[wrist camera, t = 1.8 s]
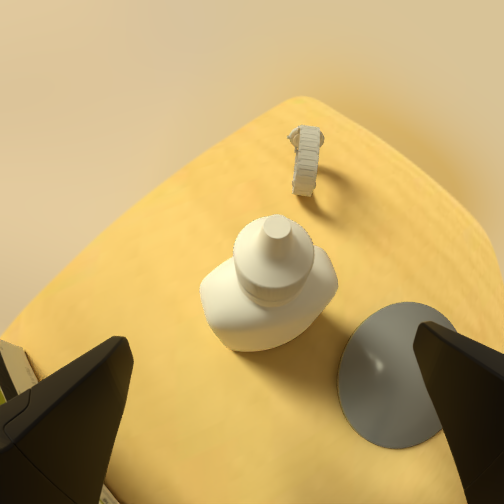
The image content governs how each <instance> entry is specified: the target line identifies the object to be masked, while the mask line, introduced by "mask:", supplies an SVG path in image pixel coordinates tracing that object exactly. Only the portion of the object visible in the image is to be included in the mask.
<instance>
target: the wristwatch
mask: <svg viewBox="0 0 504 504" xmlns="http://www.w3.org/2000/svg"><path fill="white" fill-rule="evenodd" d="M287 139H289V140H290V142H291V144H292V145H293V146H294V147H295V153H296V157H295V167H294V176H293V181H292V186H293V190H292V194H295V195H302V196H309V197H311V195H312V192H313V189H314V188H315V187H316V182H315V181H316V176H317V169H318V165H317V164H318V159H319V148H320V147H321V146H322V145H323V143H324V136H323V134H322V132H321V131H320V128H319V127H313V126H306V125H300V126H298V127H297V128H295V129H293V130H292V131H291V133H290V135H289V136H287ZM297 148H298V149H299V150H297ZM314 173H315V174H314Z"/></svg>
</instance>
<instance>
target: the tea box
mask: <svg viewBox="0 0 504 504" xmlns="http://www.w3.org/2000/svg"><path fill="white" fill-rule="evenodd" d="M37 383H38V380H37V378H36V376H35V374H34V372H33V370H32V368H31V366H30V364H29V361H28V359H27V357H26V354H25V352H24V350H23V348H22V347H19V346H16V345H13V344H11V343H8V342H5V341H3V340H0V405H2V404H3V403H5V402H7V401H9V400H11V399H12V398H14V397H16V396H18V395H19V394H21V393H23V392H24V391H26V390H27V389H29V388H31V387H32V386H34V385H35V384H37ZM99 504H120V503H119V502H118V501H117V500H116V499H115V497H114V496H113V495H112V493H111V492H110V491H109V490H108V489H107V487H106V486H105V485H104V484H103V487H102V492H101V496H100V500H99Z"/></svg>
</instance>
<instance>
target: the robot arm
mask: <svg viewBox="0 0 504 504" xmlns="http://www.w3.org/2000/svg"><path fill="white" fill-rule="evenodd" d="M413 351H414V354H415V357H416V360H417V363H418V366H419V369H420V372H421V375H422V378H423V381H424V384H425V387H426V389H427V392H428V394H429V397H430V399H431V401H432V404H433V406H434V408H435V411H436V413H437V416H438V418H439V421H440V423H441V426H442V428H443V431H444V433H445V436H446V439H447V441H448V444H449V447H450V450H451V452H452V455H453V458H454V461H455V464H456V467H457V470H458V473H459V476H460V479H461V482H462V486H463V489H465V490H464V493H465V496H466V500H467V503H468V504H504V354H502V353H500V352H498V351H496V350H494V349H492V348H489V347H487V346H485V345H483V344H481V343H479V342H476V341H474V340H472V339H470V338H468V337H466V336H463V335H461V334H459V333H457V332H455V331H452V330H450V329H448V328H446V327H444V326H442V325H439V324H437V323H435V322H433V321H426V322H421V323H420V324H419V325H418V328H417V331H416V335H415V338H414V341H413ZM133 364H134V360H133V355H132V352H131V349H130V346H129V343H128V340H127V338H126V337H123V336H113V337H111V338H109V339H108V340H106V341H104V342H103V343H101V344H100V345H98V346H96V347H95V348H93V349H92V350H90V351H88V352H87V353H85V354H83V355H82V356H80V357H79V358H77V359H75V360H74V361H72V362H71V363H69V364H67V365H66V366H64V367H63V368H61V369H59V370H58V371H56V372H55V373H53V374H51V375H50V376H48V377H47V378H45V379H43V380H42V381H40V382H39V383H37V384H35V385H34V386H32V387H31V388H29V389H27V390H26V391H24V392H23V393H21V394H19V395H18V396H16V397H14V398H12V399H11V400H9V401H7V402H5V403H3V404H2V405H0V504H99V500H100V496H101V492H102V487H103V483H104V479H105V475H106V471H107V468H108V464H109V460H110V456H111V453H112V449H113V445H114V442H115V438H116V435H117V431H118V428H119V425H120V421H121V418H122V415H123V412H124V408H125V404H126V400H127V394H128V389H129V384H130V379H131V374H132V369H133Z"/></svg>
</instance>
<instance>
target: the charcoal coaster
mask: <svg viewBox="0 0 504 504" xmlns="http://www.w3.org/2000/svg"><path fill="white" fill-rule="evenodd" d="M426 321H433V322H435V323H437V324H439V325H442V326H444V327H446V328H448V329H450V330H452V331H455V332H457V331H456V329H455V328H454V326H453V325H452V324H451V323H450V321H449V320H448V319H447V318H446V317H445V316H444V315H442V314H441V313H440V312H438V311H437V310H435V309H434V308H432V307H429V306H427V305H424V304H421V303H415V302H402V303H396V304H392V305H389V306H387V307H384V308H382V309H380V310H379V311H377V312H375V313H374V314H372V315H371V316H369V317H368V318H367V319H366V320H365V321H363V322H362V323H361V324H360V326H359V327H358V328H357V329H356V330H355V331H354V333H353V334H352V335H351V337H350V339H349V340H348V342H347V344H346V346H345V348H344V351H343V353H342V356H341V359H340V363H339V368H338V374H337V391H338V398H339V403H340V406H341V409H342V412H343V414H344V416H345V418H346V420H347V422H348V423H349V424H350V426H351V427H352V428H353V429H354V430H355V431H356V432H357V433H358V434H359V435H360V436H361V437H363V438H364V439H366V440H367V441H369V442H372V443H374V444H376V445H379V446H382V447H386V448H406V447H411V446H414V445H417V444H420V443H422V442H424V441H426V440H428V439H429V438H431V437H432V436H434V435H435V434H436V433H437V432H438V431H440V430H441V429H442V426H441V423H440V421H439V418H438V416H437V413H436V411H435V408H434V406H433V404H432V401H431V399H430V397H429V394H428V392H427V389H426V387H425V384H424V381H423V378H422V375H421V372H420V369H419V366H418V363H417V360H416V357H415V354H414V351H413V341H414V338H415V335H416V331H417V328H418V325H419V324H420V323H421V322H426Z"/></svg>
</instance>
